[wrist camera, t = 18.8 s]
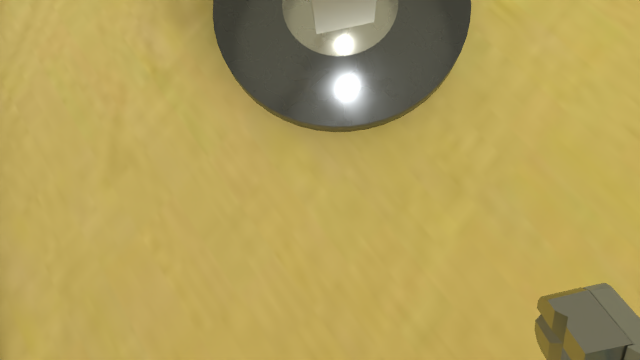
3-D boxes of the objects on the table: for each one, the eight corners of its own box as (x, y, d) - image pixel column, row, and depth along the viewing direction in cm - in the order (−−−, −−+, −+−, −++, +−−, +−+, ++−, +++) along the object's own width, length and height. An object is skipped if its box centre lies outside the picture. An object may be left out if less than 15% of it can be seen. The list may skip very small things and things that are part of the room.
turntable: (239, 155, 37) (234, 150, 35) (201, -67, 41) (195, -81, 39) (495, 102, 36) (502, 94, 35) (432, -117, 40) (435, -133, 39)
